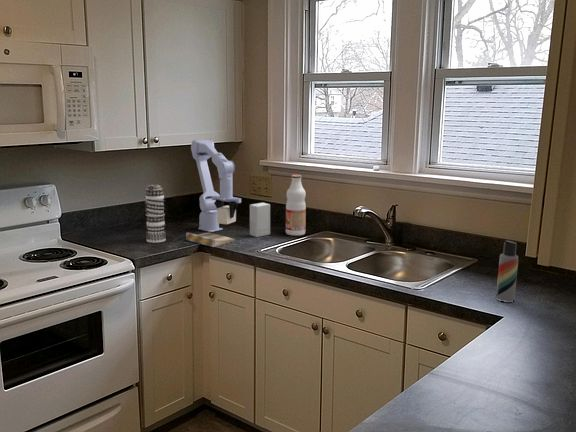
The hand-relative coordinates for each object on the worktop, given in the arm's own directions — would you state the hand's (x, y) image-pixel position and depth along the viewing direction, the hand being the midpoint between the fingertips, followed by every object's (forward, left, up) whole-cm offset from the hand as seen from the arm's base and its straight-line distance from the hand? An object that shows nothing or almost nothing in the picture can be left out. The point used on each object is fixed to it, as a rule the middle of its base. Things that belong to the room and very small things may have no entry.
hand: (226, 216), depth 270 cm
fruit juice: (+19, +27, -9) cm, 34 cm away
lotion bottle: (+129, +4, -9) cm, 129 cm away
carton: (0, 0, -2) cm, 3 cm away
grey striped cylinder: (-17, -27, -9) cm, 33 cm away
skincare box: (+9, +13, -9) cm, 18 cm away
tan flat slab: (+1, -10, -9) cm, 14 cm away
